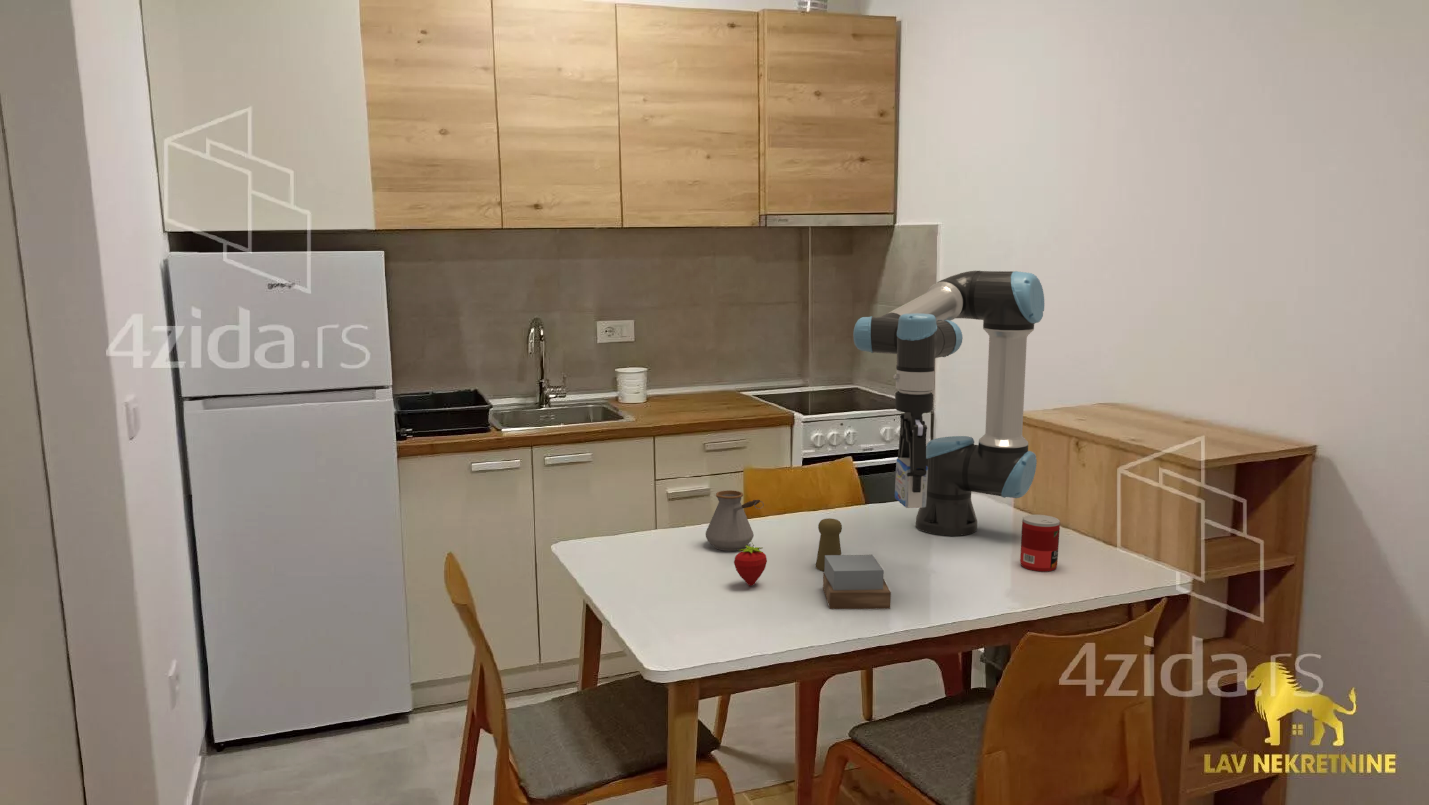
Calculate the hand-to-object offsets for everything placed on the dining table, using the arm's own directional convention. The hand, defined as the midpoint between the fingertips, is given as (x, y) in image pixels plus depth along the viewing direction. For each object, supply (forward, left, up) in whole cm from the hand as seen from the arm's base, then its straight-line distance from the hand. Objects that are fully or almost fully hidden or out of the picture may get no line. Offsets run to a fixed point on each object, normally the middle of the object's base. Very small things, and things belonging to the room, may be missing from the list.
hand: (910, 501), depth 208 cm
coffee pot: (-28, -34, -20) cm, 48 cm away
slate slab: (+2, -11, -16) cm, 20 cm away
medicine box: (0, 0, -1) cm, 1 cm away
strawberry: (-5, -32, -20) cm, 38 cm away
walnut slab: (+2, -11, -20) cm, 23 cm away
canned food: (-18, +33, -20) cm, 42 cm away
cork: (-17, -14, -20) cm, 30 cm away
